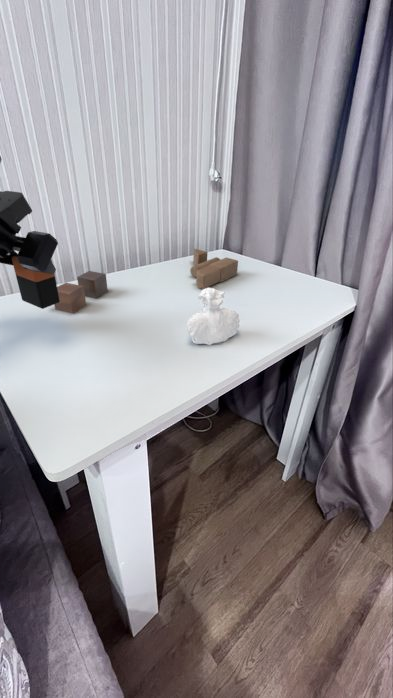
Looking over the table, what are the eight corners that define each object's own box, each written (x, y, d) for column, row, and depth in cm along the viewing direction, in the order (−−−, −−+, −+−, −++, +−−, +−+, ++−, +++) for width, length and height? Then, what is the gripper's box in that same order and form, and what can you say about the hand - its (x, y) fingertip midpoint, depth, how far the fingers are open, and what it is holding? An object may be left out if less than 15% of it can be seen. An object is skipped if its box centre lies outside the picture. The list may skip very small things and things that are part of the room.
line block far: (96, 299, 83) (94, 280, 80) (79, 295, 84) (76, 276, 82) (107, 292, 87) (105, 273, 84) (91, 288, 88) (89, 270, 86)
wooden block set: (240, 256, 99) (205, 271, 87) (238, 274, 102) (204, 291, 90) (196, 244, 107) (157, 257, 95) (195, 261, 110) (158, 276, 98)
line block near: (73, 314, 76) (69, 293, 73) (55, 309, 77) (51, 289, 74) (86, 305, 80) (83, 286, 77) (69, 301, 81) (65, 282, 78)
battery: (42, 310, 64) (31, 259, 59) (21, 301, 67) (8, 252, 62) (61, 302, 68) (52, 253, 62) (40, 294, 70) (29, 247, 65)
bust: (233, 339, 73) (221, 290, 74) (251, 334, 66) (238, 280, 67) (184, 351, 69) (171, 298, 69) (198, 346, 62) (184, 288, 62)
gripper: (36, 179, 49) (93, 239, 63) (-50, 169, 55) (21, 226, 69) (5, 245, 47) (71, 291, 61) (-81, 228, 53) (-2, 274, 67)
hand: (39, 268), depth 65 cm, fingers closed on battery, 7 cm apart
